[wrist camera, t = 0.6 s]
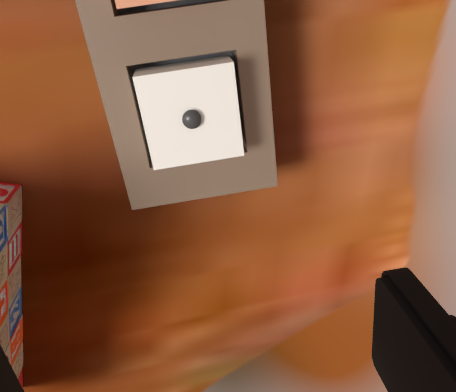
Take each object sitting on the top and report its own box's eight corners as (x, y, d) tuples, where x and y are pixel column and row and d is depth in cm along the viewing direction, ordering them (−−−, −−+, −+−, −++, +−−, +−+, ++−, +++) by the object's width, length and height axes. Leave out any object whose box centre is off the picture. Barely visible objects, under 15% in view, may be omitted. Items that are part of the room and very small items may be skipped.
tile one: (135, 69, 24) (132, 77, 22) (228, 55, 25) (234, 62, 22) (155, 155, 27) (153, 171, 25) (238, 142, 27) (244, 156, 25)
